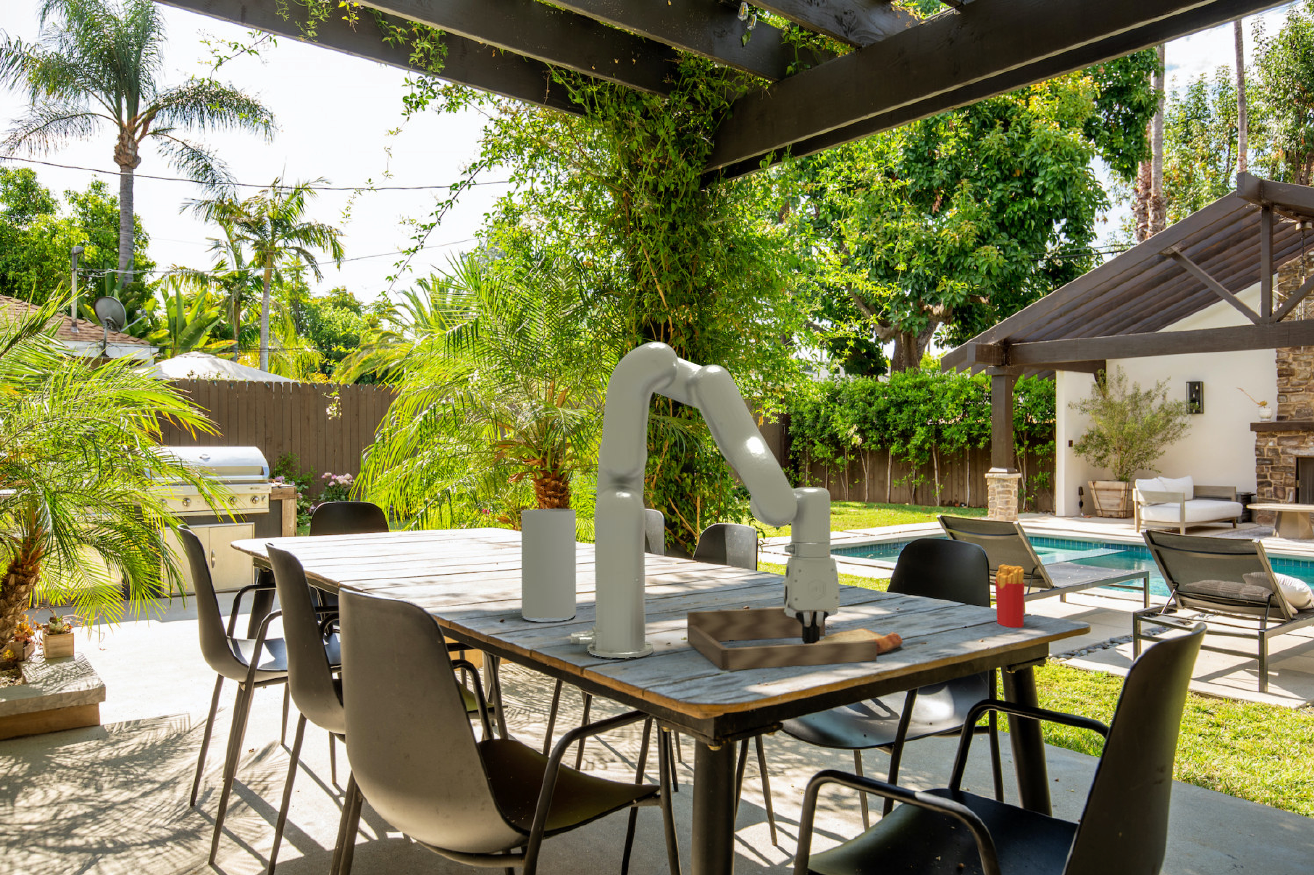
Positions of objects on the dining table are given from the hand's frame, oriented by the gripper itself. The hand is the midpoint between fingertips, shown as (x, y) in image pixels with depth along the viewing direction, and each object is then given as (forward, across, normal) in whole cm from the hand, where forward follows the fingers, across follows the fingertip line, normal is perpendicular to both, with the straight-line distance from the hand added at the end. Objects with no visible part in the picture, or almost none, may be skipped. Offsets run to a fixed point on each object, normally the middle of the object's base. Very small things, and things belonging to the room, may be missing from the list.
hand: (810, 645), depth 169 cm
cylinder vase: (+1, -46, +45) cm, 65 cm away
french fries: (0, +52, +12) cm, 53 cm away
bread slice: (+1, +8, -4) cm, 9 cm away
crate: (+1, -6, 0) cm, 6 cm away
